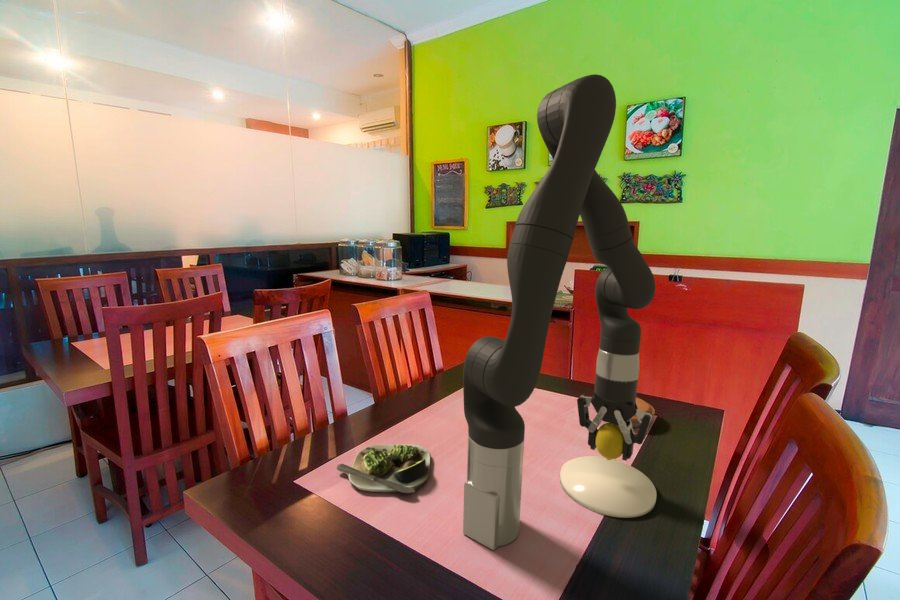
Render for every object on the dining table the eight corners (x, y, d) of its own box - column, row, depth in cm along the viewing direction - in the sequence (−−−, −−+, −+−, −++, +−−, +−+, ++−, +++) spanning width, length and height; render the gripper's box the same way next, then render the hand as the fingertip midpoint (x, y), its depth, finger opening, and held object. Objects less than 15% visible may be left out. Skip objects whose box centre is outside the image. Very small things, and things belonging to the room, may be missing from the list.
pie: (665, 422, 112) (667, 404, 111) (632, 437, 103) (634, 419, 102) (614, 401, 124) (616, 385, 123) (581, 413, 115) (582, 397, 115)
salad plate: (325, 499, 78) (324, 477, 78) (348, 449, 96) (348, 430, 95) (427, 502, 78) (427, 480, 77) (432, 451, 96) (432, 432, 95)
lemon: (626, 469, 79) (630, 430, 78) (596, 465, 80) (599, 427, 79) (620, 453, 85) (624, 417, 83) (592, 450, 86) (595, 414, 84)
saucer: (643, 532, 71) (644, 526, 71) (545, 490, 82) (545, 485, 81) (664, 482, 85) (665, 476, 85) (578, 452, 96) (579, 447, 95)
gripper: (572, 369, 80) (567, 449, 83) (653, 387, 72) (643, 475, 75) (586, 359, 86) (580, 434, 89) (662, 375, 78) (652, 457, 81)
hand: (609, 452), depth 82 cm, fingers closed on lemon, 5 cm apart
